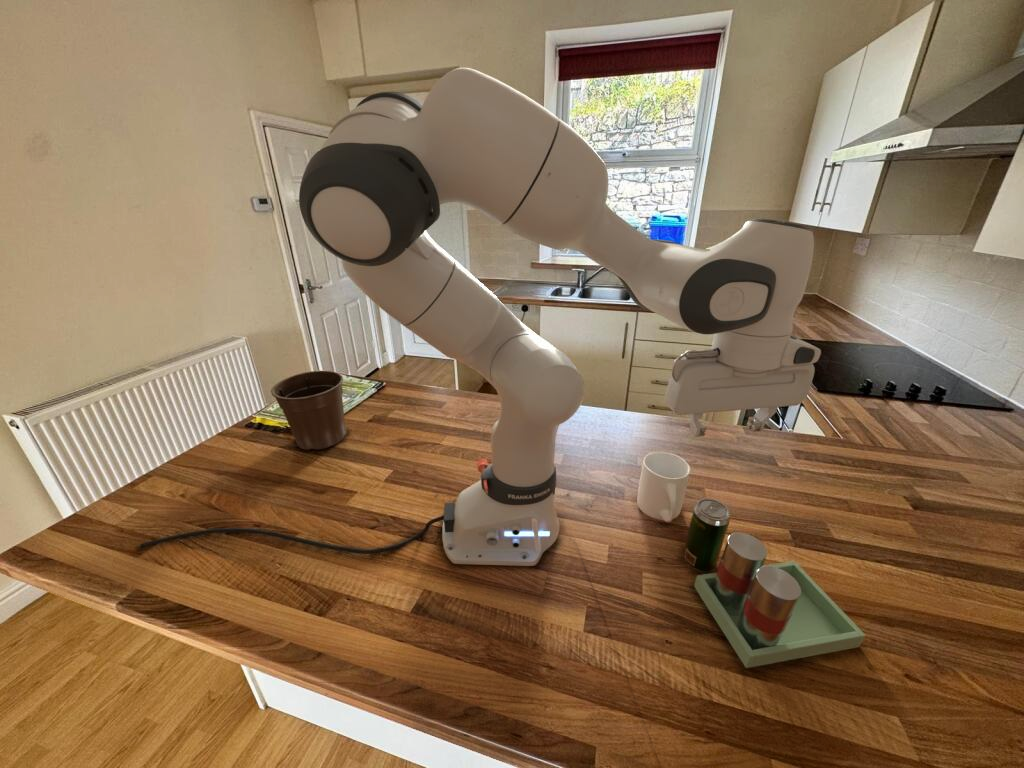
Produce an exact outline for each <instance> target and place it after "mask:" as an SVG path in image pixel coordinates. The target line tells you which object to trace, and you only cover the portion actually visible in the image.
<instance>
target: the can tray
mask: <svg viewBox="0 0 1024 768" xmlns="http://www.w3.org/2000/svg"><path fill="white" fill-rule="evenodd" d="M763 566H773V567H776V568H779V569H782V570H784V571H785V572H787V573H789V574H790V575H791V576H792V577H793V578H794V579H795V580H796V581H797V582H798V584H799V586H800V588H801V595H800V597H799V599H798V601H797V603H796V606H795V608H794V610H793V612H792V615H791V618H790V620H789V622H788V624H787V626H786V628H785V630H784V632H783V634H782V636H781V638H780V640H779V642H778V645H777V646H772V647H766V648H761V649H755V650H752V649H751V648H750V646H749V645H748V643H747V642H746V640H745V639H744V637H743V636H742V634H741V633H740V631H739V630H738V628H737V627H736V626H737V623H738V621H739V618H740V616H732V615H728V613H727V612H726V610H725V609H724V608H723V606H722V605H721V603H720V602H719V600H718V599H717V597H716V596H715V594H714V593H713V591H712V588H713V585H714V581H715V578H716V575H717V572H712V573H704V574H698V575H696V578H695V582H694V584H693V585H694V589H695V590H696V592H697V593H698V595H699V596H700V598H701V600H702V601H703V603H704V604H705V606H706V608H707V609H708V611H709V612H710V614H711V615H712V617H713V619H714V620H715V622H716V623H717V625H718V626H719V628H720V630H721V631H722V632H723V634H724V636H725V637H726V639H727V641H728V642H729V644H730V645H731V647H732V648H733V650H734V651H735V653H736V655H737V657H738V658H739V659H740V661H741V663H742V664H743V666H744V668H746V669H749V668H754V667H759V666H764V665H770V664H775V663H781V662H787V661H792V660H797V659H802V658H807V657H812V656H818V655H823V654H829V653H834V652H839V651H845V650H850V649H856V648H859V647H860V646H861V645H862V643H863V641H864V639H865V638H866V636H867V635H866V634H865V633H864V632H863V631H862V630H861V629H860V627H858V625H857V624H856V623H854V621H853V620H852V619H851V618H850V617H849V616H848V615H847V614H846V613H845V612H844V611H843V610H842V609H841V608H840V606H838V605H837V603H836V602H835V601H833V599H832V598H831V597H830V596H829V595H828V594H827V593H826V592H825V591H824V590H823V589H822V588H821V586H820V585H819V584H818V583H816V582H815V581H814V579H812V577H811V576H810V575H809V574H808V573H807V572H806V571H805V570H804V569H803V568H802V566H800V565H799V563H797V562H796V560H790V561H785V562H784V561H783V562H777V563H770V564H765V565H764V564H763ZM763 566H762V567H763Z"/></svg>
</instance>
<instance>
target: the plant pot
mask: <svg viewBox="0 0 1024 768" xmlns="http://www.w3.org/2000/svg"><path fill="white" fill-rule="evenodd" d="M343 382H344V376H343V375H342V374H341V373H339V372H337V371H335V370H311V371H306V372H301V373H297V374H294V375H291V376H288V377H286V378H284V379H281V380H280V381H278V382H276V383H275V384H274V385H273V386H272V387H271V389H270V393H271V395H272V397H274V398H275V400H276V402H277V404H278V407H279V408H280V409H281V410H282V412H283V414H284V417H285V419H286V421H287V423H288V426H289V428H290V431H291V433H292V435H293V438H294V441H295V443H296V445H297V447H299V448H300V449H301V450H305V451H310V450H315V451H321V450H324V449H328V448H331V447H333V446H335V445H337V444H338V443H340V442H342V441H343V440H344V438H345V436H346V435H347V432H348V431H347V424H346V418H345V410H344V401H343V393H344V390H343Z"/></svg>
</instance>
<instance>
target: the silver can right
mask: <svg viewBox="0 0 1024 768" xmlns="http://www.w3.org/2000/svg"><path fill="white" fill-rule="evenodd" d="M800 595H801V588H800V586H799V584H798V582H797V581H796V580H795V579H794V578H793V577H792V576H791V575H790V574H789V573H787V572H785V571H784V570H782V569H779V568H776V567H773V566H764V565H763V567H761V568H759V569H758V570H757V573H756V575H755V578H754V581H753V583H752V586H751V589H750V590H749V593H748V595H747V598H746V601H745V603H744V607H743V610H742V613H741V615H740V618H739V621H738V623H737V626H736V627H737V628H738V630H739V631H740V633H741V634H742V636H743V637H744V639H745V640H746V642H747V643H748V645H749V646H750V648H751V649H752V650H755V649H761V648H766V647H772V646H777V645H778V642H779V640H780V638H781V636H782V634H783V632H784V630H785V628H786V626H787V624H788V622H789V620H790V618H791V615H792V612H793V610H794V608H795V606H796V603H797V601H798V599H799V597H800Z"/></svg>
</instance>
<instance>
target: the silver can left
mask: <svg viewBox="0 0 1024 768" xmlns="http://www.w3.org/2000/svg"><path fill="white" fill-rule="evenodd" d="M766 547H767V546H765V545H764V543H763V542H762V541H761V540H759V538H756V536H754V535H751V534H748V533H745V532H733V533H731V534H730V535H729V536H728V537H727V540H726V544H725V547H724V550H723V552H722V556H721V558H720V561H719V565H718V567H717V572H716V573H717V575H716V578H715V581H714V585H713V588H712V591H713V593H714V594H715V596H716V597H717V599H718V600H719V602H720V603H721V605H722V606H723V608H724V609H725V610H726V612H727V613H728V615H732V616H740V615H741V613H742V610H743V607H744V603H745V601H746V598H747V595H748V593H749V590H750V589H751V586H752V583H753V581H754V578H755V575H756V573H757V570H758V569H759V568H761V567H762V566H764V564H765V561H766V559H767V556H768V549H767V548H766Z"/></svg>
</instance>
